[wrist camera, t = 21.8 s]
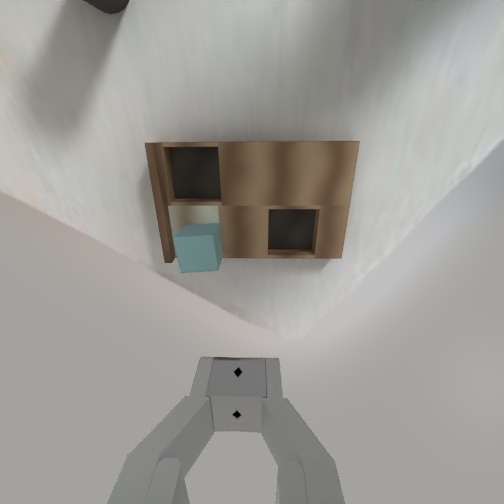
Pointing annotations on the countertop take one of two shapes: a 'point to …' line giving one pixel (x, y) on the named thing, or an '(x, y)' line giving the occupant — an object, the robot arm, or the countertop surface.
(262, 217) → the board
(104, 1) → the coffee cup
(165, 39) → the countertop surface
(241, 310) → the countertop surface
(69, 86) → the countertop surface
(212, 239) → the teal block
